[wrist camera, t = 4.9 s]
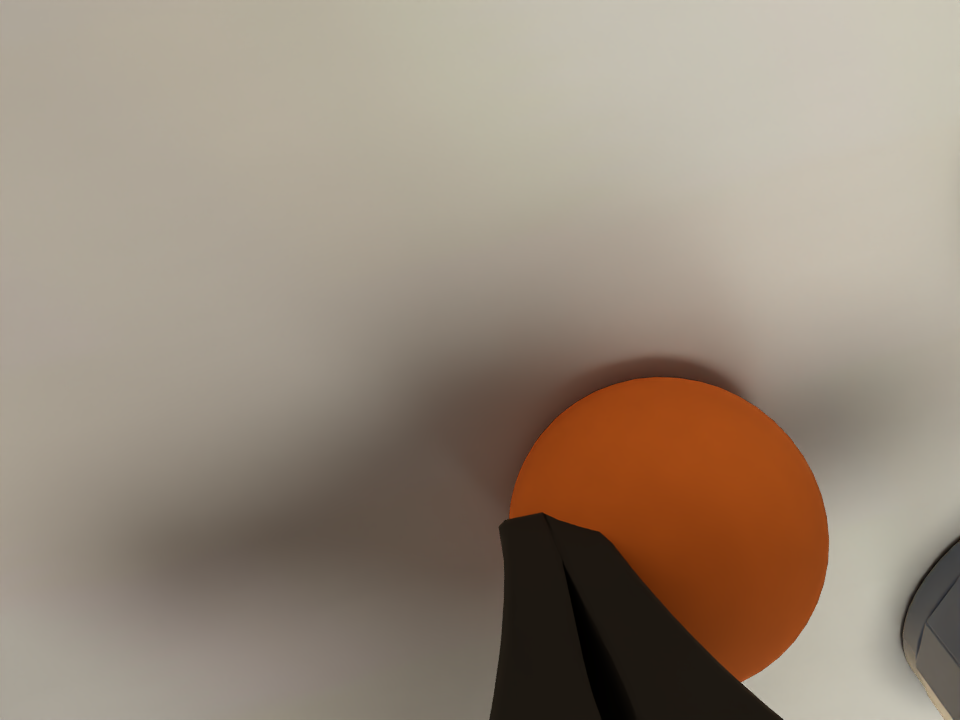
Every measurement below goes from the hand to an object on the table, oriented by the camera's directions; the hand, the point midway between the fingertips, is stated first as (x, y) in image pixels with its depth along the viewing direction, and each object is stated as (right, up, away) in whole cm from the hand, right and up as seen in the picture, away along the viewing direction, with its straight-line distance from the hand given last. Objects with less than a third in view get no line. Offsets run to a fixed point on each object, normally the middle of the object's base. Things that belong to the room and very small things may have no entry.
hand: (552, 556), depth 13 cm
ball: (+2, 0, +1) cm, 2 cm away
